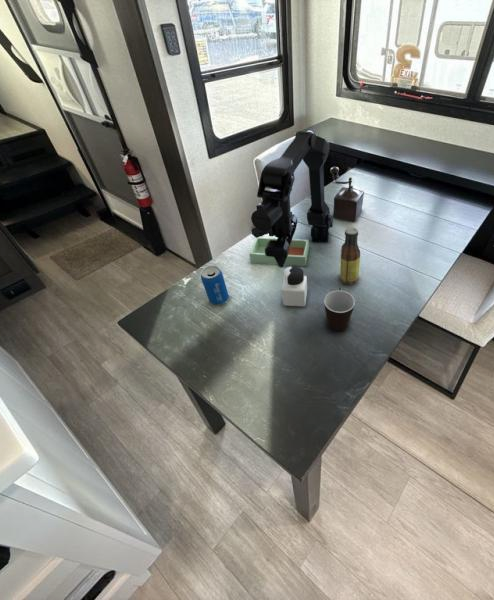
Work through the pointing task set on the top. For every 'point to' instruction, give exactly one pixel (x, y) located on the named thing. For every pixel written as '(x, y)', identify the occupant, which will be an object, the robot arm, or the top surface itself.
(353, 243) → the sauce bottle
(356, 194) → the coffee grinder
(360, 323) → the top surface
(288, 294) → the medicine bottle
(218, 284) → the beverage can
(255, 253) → the green divided tray
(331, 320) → the coffee mug
